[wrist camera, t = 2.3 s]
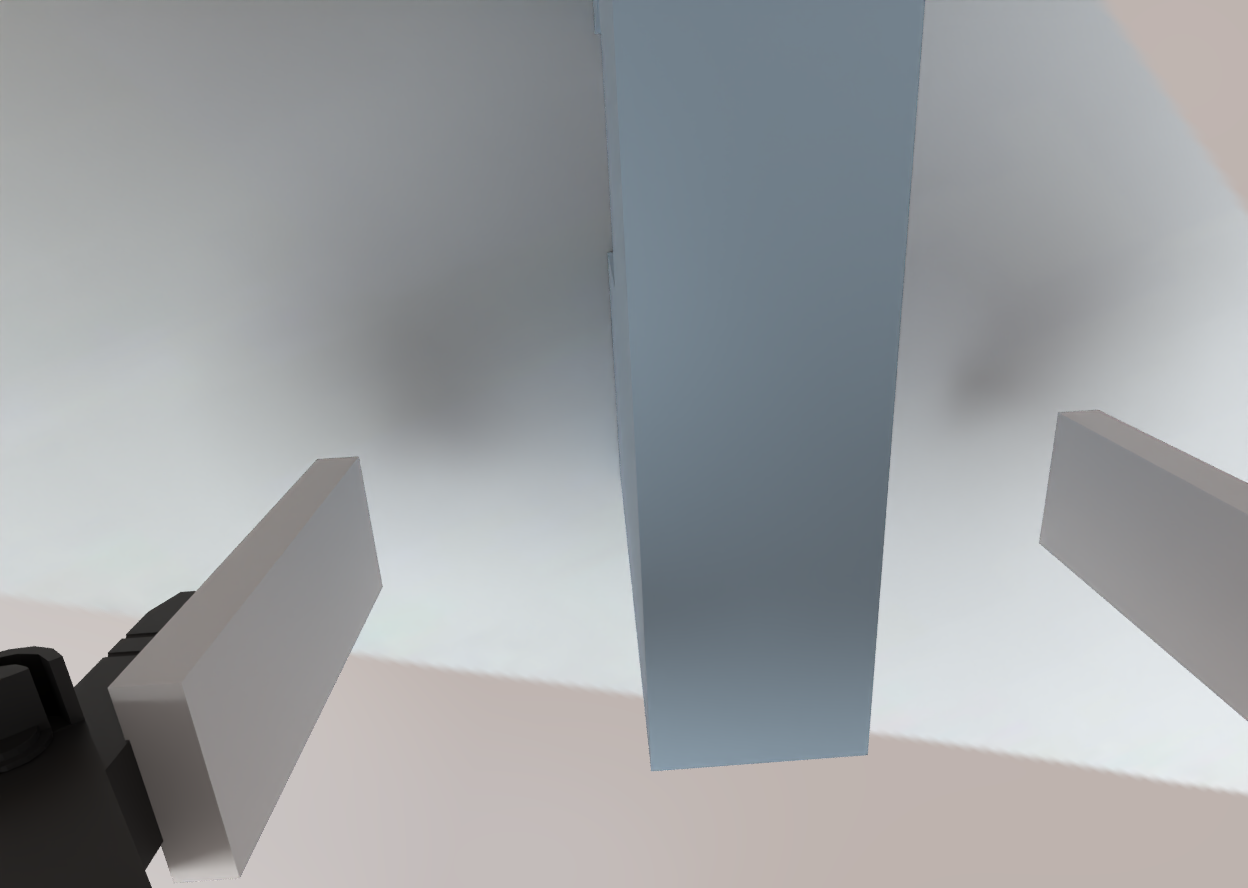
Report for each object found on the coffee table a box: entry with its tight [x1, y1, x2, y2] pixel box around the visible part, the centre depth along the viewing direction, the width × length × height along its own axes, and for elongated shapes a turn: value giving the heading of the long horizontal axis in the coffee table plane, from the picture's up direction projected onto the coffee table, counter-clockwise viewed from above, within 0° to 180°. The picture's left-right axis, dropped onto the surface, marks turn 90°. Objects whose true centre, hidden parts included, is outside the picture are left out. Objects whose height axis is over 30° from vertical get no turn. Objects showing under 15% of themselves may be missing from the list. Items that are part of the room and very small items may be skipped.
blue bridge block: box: [593, 0, 925, 771], centre depth 13 cm, size 16×3×10 cm, turn 3°
